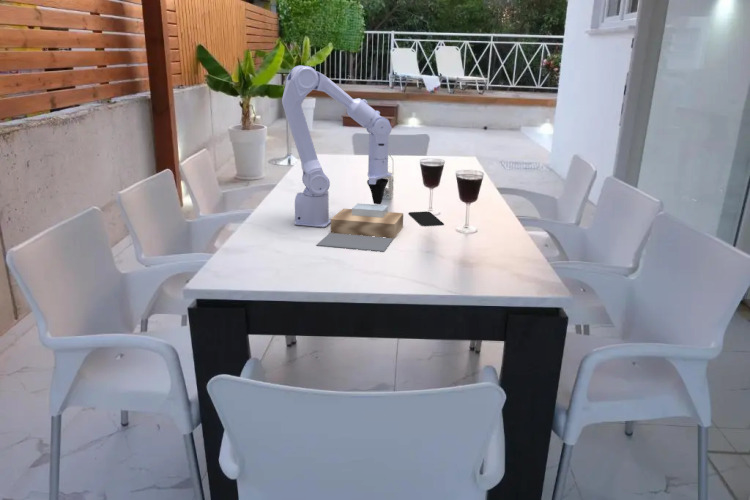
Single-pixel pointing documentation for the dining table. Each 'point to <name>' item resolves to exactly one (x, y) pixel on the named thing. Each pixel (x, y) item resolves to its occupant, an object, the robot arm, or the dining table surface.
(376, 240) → the mat
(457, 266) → the dining table surface
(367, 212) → the tile
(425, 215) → the smartphone
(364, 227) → the tan flat wooden block
